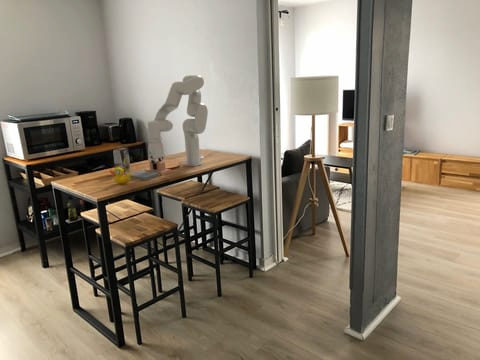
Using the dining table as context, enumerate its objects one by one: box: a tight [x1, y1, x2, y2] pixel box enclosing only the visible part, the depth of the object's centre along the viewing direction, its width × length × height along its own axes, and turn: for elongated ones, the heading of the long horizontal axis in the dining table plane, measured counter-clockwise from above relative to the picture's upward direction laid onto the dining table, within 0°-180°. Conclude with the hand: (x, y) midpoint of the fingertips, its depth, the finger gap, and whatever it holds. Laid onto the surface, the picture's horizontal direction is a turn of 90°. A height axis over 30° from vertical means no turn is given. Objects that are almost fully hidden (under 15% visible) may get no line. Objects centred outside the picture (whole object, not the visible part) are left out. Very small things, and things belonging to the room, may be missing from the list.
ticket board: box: [129, 169, 160, 182], centre depth 246 cm, size 12×16×2 cm
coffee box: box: [112, 147, 131, 176], centre depth 256 cm, size 9×6×16 cm
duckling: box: [109, 167, 131, 185], centre depth 231 cm, size 11×5×10 cm, turn 96°
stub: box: [144, 160, 172, 176], centre depth 255 cm, size 8×16×7 cm, turn 56°
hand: (157, 168), depth 256 cm, fingers closed on stub, 4 cm apart
